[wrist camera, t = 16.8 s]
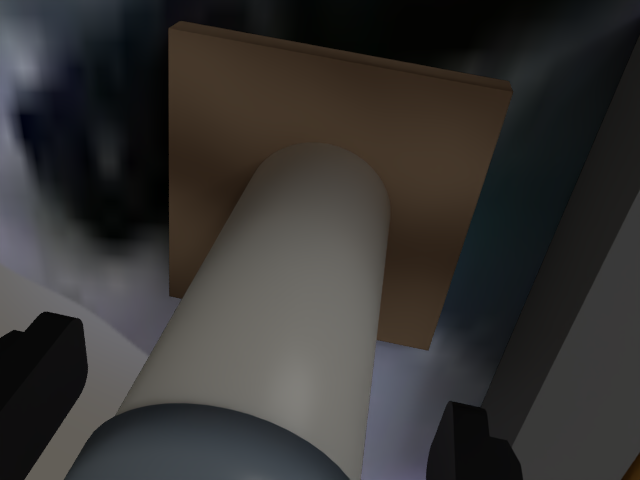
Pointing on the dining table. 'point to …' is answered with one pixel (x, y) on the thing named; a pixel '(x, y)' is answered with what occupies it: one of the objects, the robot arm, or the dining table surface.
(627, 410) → the block
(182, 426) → the cylinder
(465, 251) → the dining table surface
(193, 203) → the walnut pad
